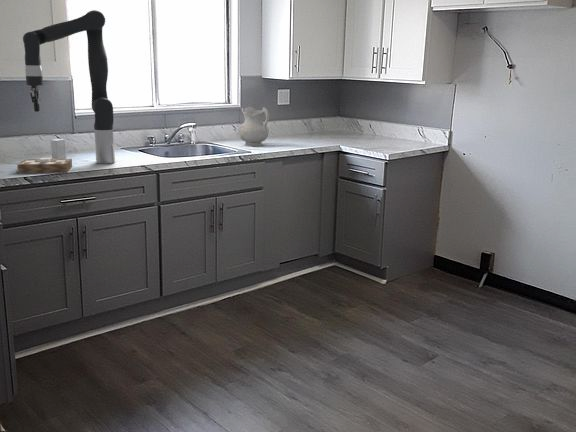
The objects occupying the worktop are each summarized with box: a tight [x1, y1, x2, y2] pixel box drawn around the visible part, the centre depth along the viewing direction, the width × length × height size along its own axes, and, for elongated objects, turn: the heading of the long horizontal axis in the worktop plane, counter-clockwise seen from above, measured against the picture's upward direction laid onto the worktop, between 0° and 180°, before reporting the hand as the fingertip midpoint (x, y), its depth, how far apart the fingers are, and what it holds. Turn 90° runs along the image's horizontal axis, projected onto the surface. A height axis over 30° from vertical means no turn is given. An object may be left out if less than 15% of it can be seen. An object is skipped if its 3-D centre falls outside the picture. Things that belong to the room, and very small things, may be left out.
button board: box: [16, 158, 73, 174], centre depth 294 cm, size 22×16×4 cm
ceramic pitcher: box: [237, 105, 270, 147], centre depth 388 cm, size 22×20×25 cm
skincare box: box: [50, 138, 67, 159], centre depth 313 cm, size 6×4×12 cm
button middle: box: [39, 157, 51, 162], centre depth 294 cm, size 4×4×2 cm
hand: (37, 111), depth 298 cm, fingers closed
